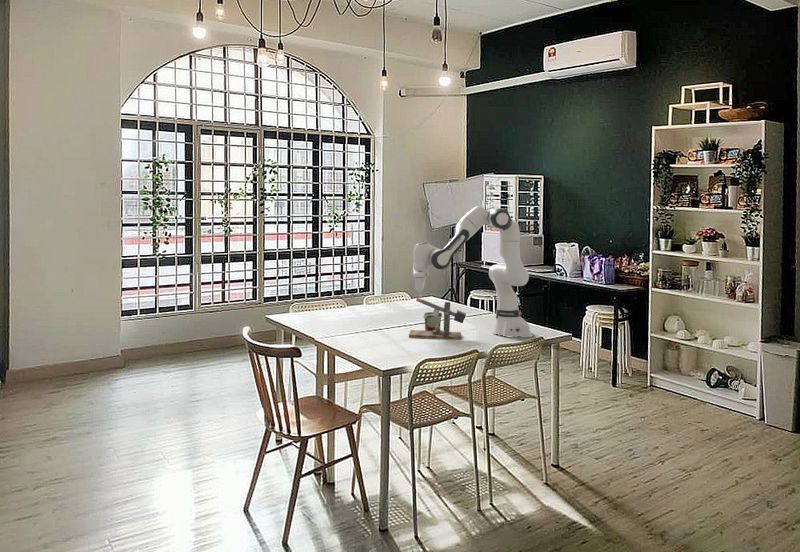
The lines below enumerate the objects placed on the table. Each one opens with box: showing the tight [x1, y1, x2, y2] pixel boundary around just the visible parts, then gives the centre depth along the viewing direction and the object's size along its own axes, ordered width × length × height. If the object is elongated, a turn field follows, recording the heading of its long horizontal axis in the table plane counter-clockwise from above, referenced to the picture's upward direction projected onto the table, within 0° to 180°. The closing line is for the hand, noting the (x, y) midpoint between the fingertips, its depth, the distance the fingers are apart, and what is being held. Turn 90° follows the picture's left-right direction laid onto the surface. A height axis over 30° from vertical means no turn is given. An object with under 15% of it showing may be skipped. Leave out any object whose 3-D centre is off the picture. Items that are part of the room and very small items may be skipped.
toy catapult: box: [408, 301, 462, 341], centre depth 380 cm, size 28×12×18 cm, turn 84°
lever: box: [415, 297, 467, 324], centre depth 379 cm, size 28×5×7 cm, turn 86°
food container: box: [423, 311, 443, 331], centre depth 395 cm, size 12×6×10 cm, turn 130°
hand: (419, 297), depth 379 cm, fingers closed
